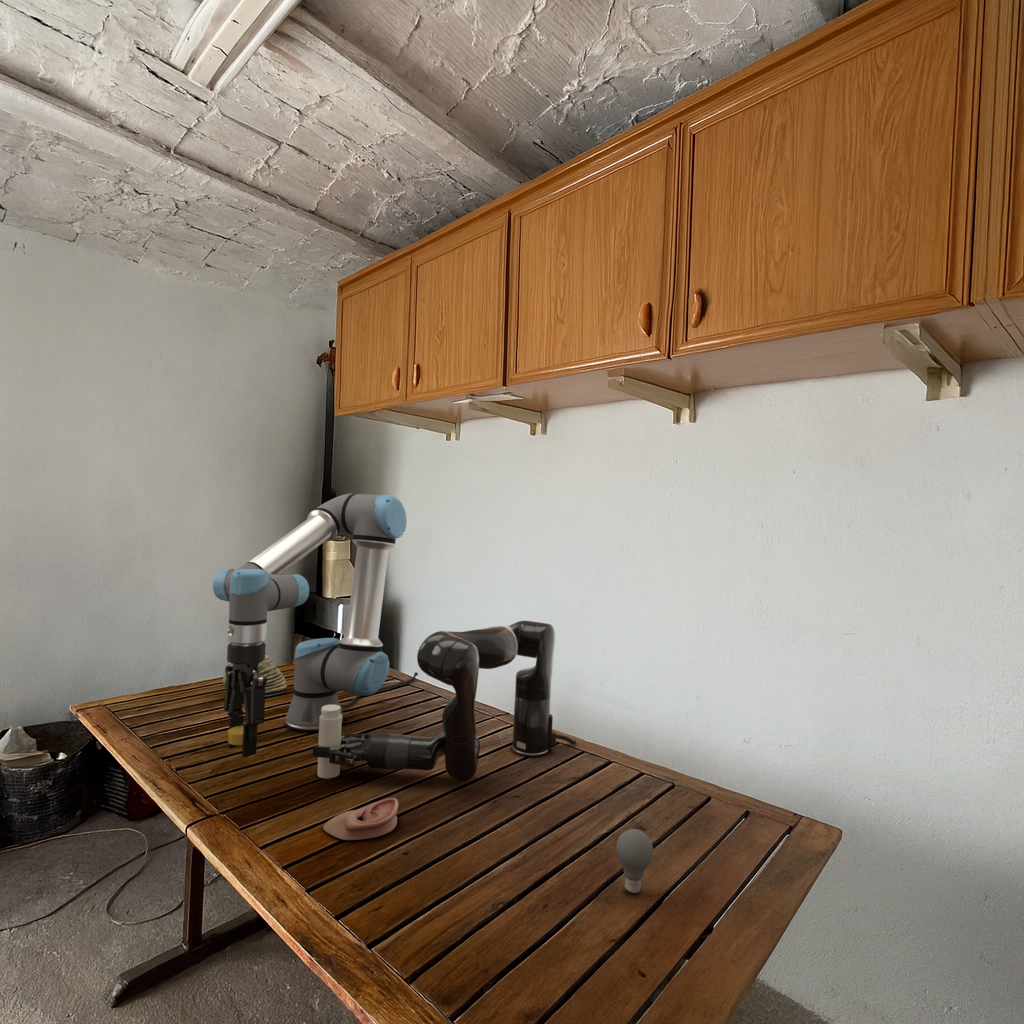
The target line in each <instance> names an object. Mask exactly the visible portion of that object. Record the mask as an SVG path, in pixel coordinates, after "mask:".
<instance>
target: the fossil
mask: <svg viewBox="0 0 1024 1024" xmlns="http://www.w3.org/2000/svg"><path fill="white" fill-rule="evenodd" d="M231 665H233V664H232V663H229V662H228V661H227V663H226V665H225V667H226V666H231ZM258 666H259V675H260V676H261V677H263V676H266V678H267V681H266V686H265V697H271V696H275V695H281V694H284V693H285V691H286V689H287V687H288V686H287V680H286V678H285V676H284V674H283V673H282V672H281V669H279V668H278V667H277V665H276V663H275V662H274V660H273V659H272V658H271V657H270V656H269V655H268V654H267V652H265V659H264V660H263V661H261V662H260V663H259V664H258ZM222 676H223V677H222V685H223V687H224V688H225V686H226V670H225V669H224V671H223V675H222ZM249 688H251V687H249ZM246 689H248V688H246Z"/></svg>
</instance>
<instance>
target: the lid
mask: <svg viewBox="0 0 1024 1024" xmlns="http://www.w3.org/2000/svg"><path fill="white" fill-rule="evenodd" d="M227 731H228V732H227V744H228V743H229V744H232V745H242V746H243V725H241V726H236V727H233V728H231V729H229V728H228V730H227Z"/></svg>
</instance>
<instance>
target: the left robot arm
mask: <svg viewBox="0 0 1024 1024" xmlns="http://www.w3.org/2000/svg"><path fill="white" fill-rule="evenodd" d="M406 527H407V514H406V509H405V507H404V505H403V503H402V502H401V500H400V499H398V498H397V497H395V496H393V495H388V494H386V495H385V494H375V493H374V494H370V493H369V494H368V493H367V494H366V493H365V494H364V493H345V494H342V495H339V496H336V497H334V498H331V499H329V500H327V501H326V502H324V503H322V504H320V505H319V506H318V507H316V508H314V509H313V510H311V511H310V512H309V513H308V514H307V517H306V519H305V520H304V521H302V522H301V523H300V524H298V525H297V526H296V527H294V528H293V529H291V530H290V531H288V532H287V533H285V534H284V535H283V536H282V537H281V538H279V539H277V540H276V541H275V542H273V543H272V544H271V545H269V546H268V547H266V548H265V549H264V550H262V551H261V552H260V553H258V554H256V555H255V556H254V557H252V558H251V559H250V560H248V561H247V562H246V563H244V564H243V565H241V566H240V567H238V568H236V569H234V568H228V569H222V570H220V571H219V572H218V573H217V574H216V575H215V577H214V579H213V582H212V591H213V594H214V596H215V597H216V598H217V599H218V600H221V601H224V602H228V603H229V605H228V606H229V607H228V608H229V610H228V628H227V629H226V633H227V634H228V635H227V641H228V642H229V643H228V644H227V648H226V649H227V651H226V653H227V654H226V661H227V662H229V663H232V664H233V665H231V666H226V665H225V667H224V671H225V670H226V686H225V687H224V688H225V689H224V701H223V702H224V703H223V711H224V712H227V716H228V730H229V729H231V728H233V727H236V726H241V725H243V745H232V744H229V743H228V742H227V748H228V749H229V750H230V749H234V748H238V747H242V751H241V752H242V753H241V755H242V756H241V757H242V758H247V757H252V756H255V755H257V748H258V747H257V746H258V726H259V725H262V724H264V723H265V715H266V714H265V713H266V711H265V710H266V709H265V708H266V707H265V706H266V696H265V686H266V681H267V678H266V676H263V677H261V676H260V675H259V666H258V664H259V663H260V662H261V661H263V660H264V659H265V653H266V646H267V645H266V643H265V641H266V640H267V630H268V629H267V627H268V612H272V611H279V610H284V609H285V610H286V609H293V608H295V607H298V606H301V605H303V604H305V602H306V601H307V600H308V597H309V595H310V586H309V582H308V580H307V579H306V578H305V577H304V576H302V575H301V574H299V573H298V574H297V573H296V574H294V573H293V574H291V573H287V574H285V573H286V572H288V571H289V570H290V569H291V568H293V567H294V566H295V565H296V564H298V563H299V562H300V561H302V560H303V559H305V557H306V556H308V555H309V554H310V553H311V552H313V551H314V550H315V549H317V548H318V547H320V546H321V545H322V544H323V543H325V542H331V541H333V540H334V539H336V538H337V537H339V536H344V535H345V536H346V535H351V536H352V542H353V544H354V545H355V546H356V554H355V561H354V570H353V577H352V584H351V585H352V586H351V593H350V600H349V609H348V616H347V622H346V623H347V625H346V631H345V635H344V637H343V638H341V639H340V640H339V638H336V637H322V638H313V639H307V640H304V641H302V642H299V643H298V644H297V645H296V647H295V652H294V653H295V654H294V657H293V659H294V661H293V662H294V663H293V665H294V667H293V695H292V696H293V697H292V699H291V702H290V704H289V707H288V709H287V713H286V715H285V726H286V728H287V729H289V730H291V731H294V732H295V731H296V732H301V733H316V732H318V733H319V719H320V715H321V710H322V707H323V706H325V705H339V706H340V707H341V711H340V714H341V715H342V723H343V722H344V714H343V709H345V708H349V707H350V706H352V705H353V704H354V703H355V701H357V700H358V699H359V698H361V697H363V696H372V695H374V694H376V693H377V692H380V691H384V690H389V689H392V688H396V687H400V686H403V685H405V684H406V685H407V684H408V683H411V682H413V681H414V680H415V679H416V678H417V676H419V673H418V672H417V671H415V672H414V674H413V676H412V677H411V678H409V679H408V680H405V681H402V682H399V683H396V684H392V685H387V686H383V685H384V684H385V682H386V680H387V678H388V675H389V671H390V660H389V656H388V655H387V654H386V653H385V652H384V651H383V647H384V644H383V642H382V641H381V640H380V638H379V633H380V625H381V616H382V609H383V601H384V593H385V584H386V576H387V568H388V559H389V552H390V550H391V549H392V548H394V547H395V546H396V540H397V539H399V538H401V537H402V536H403V535H404V532H405V531H406ZM249 687H251V688H249ZM246 688H248V689H246ZM338 692H344V693H349V694H353V695H355V697H353V698H352V700H351V701H350V702H349V703H346V704H341V702H340V699H339V695H338ZM243 707H244V710H243ZM342 708H343V709H342ZM244 717H245V723H244Z"/></svg>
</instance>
